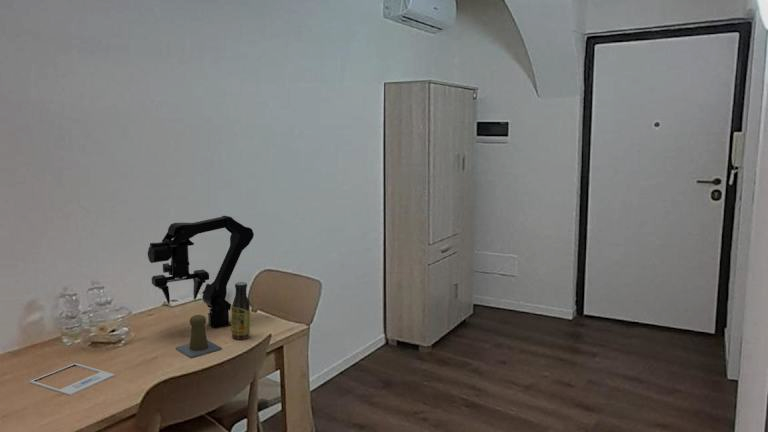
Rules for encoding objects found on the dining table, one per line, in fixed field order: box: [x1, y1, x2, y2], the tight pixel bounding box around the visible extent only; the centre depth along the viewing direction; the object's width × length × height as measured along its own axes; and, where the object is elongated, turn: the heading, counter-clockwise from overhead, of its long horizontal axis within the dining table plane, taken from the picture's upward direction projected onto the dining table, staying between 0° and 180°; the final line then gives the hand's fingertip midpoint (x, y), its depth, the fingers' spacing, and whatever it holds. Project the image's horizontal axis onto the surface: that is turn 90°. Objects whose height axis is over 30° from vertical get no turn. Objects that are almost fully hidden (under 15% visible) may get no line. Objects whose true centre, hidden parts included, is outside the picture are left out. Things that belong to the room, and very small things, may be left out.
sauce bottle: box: [231, 281, 251, 340], centre depth 205 cm, size 7×6×20 cm
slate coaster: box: [175, 339, 223, 359], centre depth 195 cm, size 11×11×1 cm
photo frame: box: [28, 362, 116, 396], centre depth 171 cm, size 15×1×18 cm
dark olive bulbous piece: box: [189, 314, 208, 351], centre depth 194 cm, size 6×6×11 cm
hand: (181, 301), depth 208 cm, fingers open, 9 cm apart
